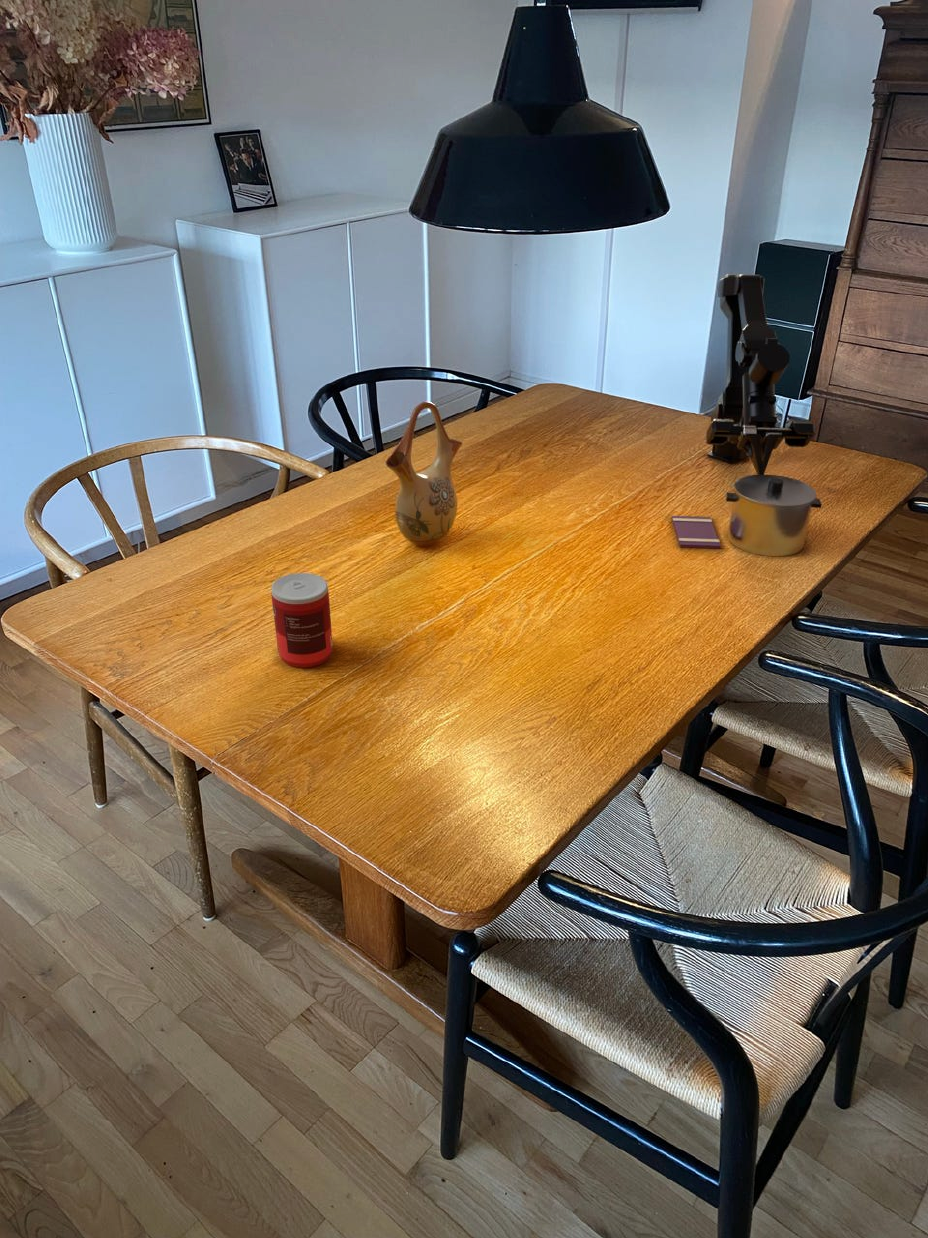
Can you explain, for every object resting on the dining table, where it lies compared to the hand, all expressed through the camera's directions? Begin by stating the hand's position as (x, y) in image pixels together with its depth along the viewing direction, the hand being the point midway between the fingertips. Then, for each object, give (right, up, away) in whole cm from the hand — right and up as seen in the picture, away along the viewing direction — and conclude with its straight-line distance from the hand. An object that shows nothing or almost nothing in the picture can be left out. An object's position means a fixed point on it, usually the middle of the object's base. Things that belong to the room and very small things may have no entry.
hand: (761, 475), depth 171 cm
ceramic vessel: (-61, -13, -8) cm, 63 cm away
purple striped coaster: (-13, -11, -4) cm, 18 cm away
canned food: (-77, -31, -39) cm, 92 cm away
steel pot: (-1, -12, -7) cm, 14 cm away
